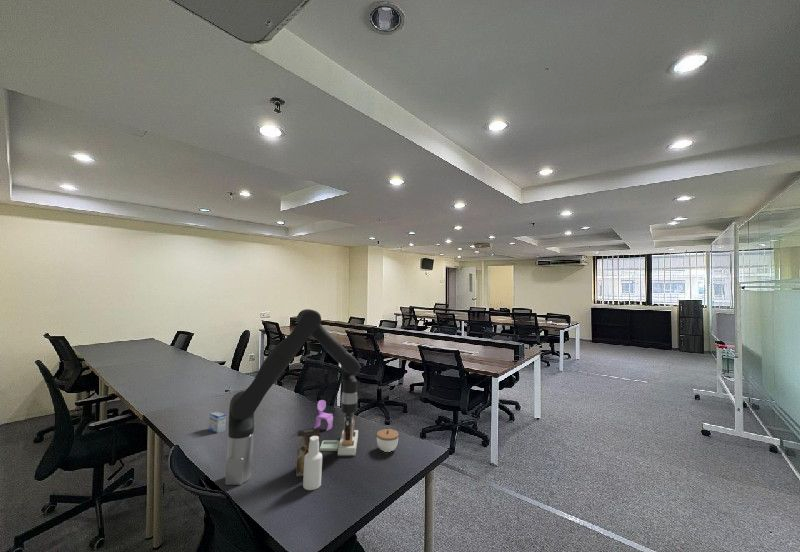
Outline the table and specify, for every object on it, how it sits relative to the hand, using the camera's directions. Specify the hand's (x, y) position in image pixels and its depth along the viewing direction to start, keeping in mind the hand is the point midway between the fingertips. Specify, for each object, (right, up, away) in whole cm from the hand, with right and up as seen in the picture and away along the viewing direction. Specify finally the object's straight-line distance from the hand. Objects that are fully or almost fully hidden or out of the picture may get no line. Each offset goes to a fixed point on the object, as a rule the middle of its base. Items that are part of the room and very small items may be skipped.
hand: (348, 437), depth 151 cm
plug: (0, -2, 0) cm, 2 cm away
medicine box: (-74, -6, +19) cm, 76 cm away
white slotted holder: (-1, -7, +4) cm, 8 cm away
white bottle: (-9, -4, -28) cm, 30 cm away
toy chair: (-18, -8, +25) cm, 32 cm away
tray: (-9, -6, +3) cm, 12 cm away
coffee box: (-14, -5, -18) cm, 24 cm away
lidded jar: (+19, -8, +3) cm, 20 cm away
